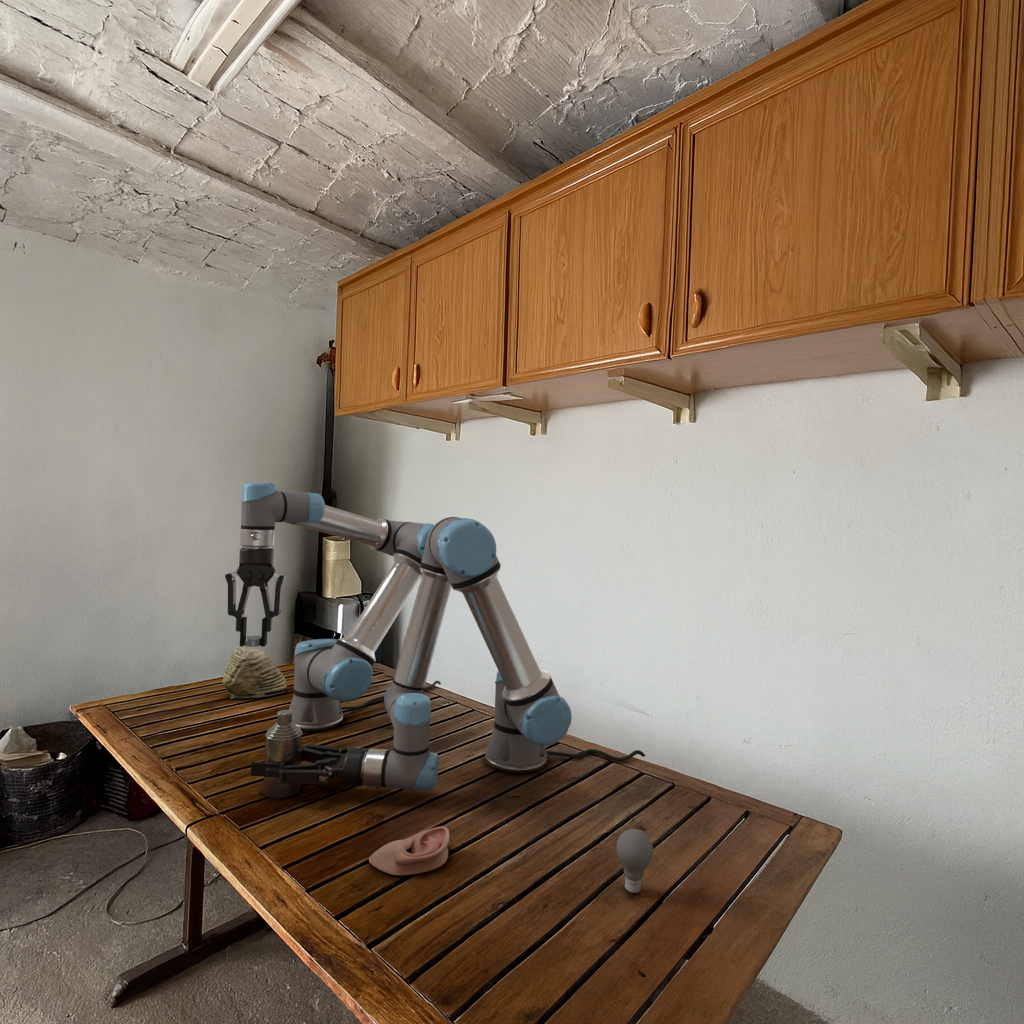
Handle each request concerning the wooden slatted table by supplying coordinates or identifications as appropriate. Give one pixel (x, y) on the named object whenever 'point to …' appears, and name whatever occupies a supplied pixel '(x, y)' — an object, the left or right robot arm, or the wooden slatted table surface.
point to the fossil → (252, 674)
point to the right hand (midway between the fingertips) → (260, 760)
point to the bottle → (282, 753)
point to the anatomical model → (413, 853)
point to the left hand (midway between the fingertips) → (253, 645)
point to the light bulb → (634, 857)
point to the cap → (252, 641)
